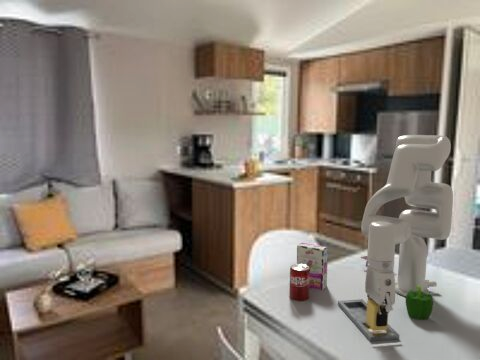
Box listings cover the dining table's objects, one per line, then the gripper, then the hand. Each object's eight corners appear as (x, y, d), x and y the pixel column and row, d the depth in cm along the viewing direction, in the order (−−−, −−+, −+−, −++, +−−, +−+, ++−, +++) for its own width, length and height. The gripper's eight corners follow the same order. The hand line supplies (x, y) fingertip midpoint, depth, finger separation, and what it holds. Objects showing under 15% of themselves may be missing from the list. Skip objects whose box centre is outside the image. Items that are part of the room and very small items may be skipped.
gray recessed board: (362, 304, 138) (362, 299, 138) (399, 341, 115) (399, 335, 115) (337, 306, 137) (338, 300, 137) (370, 343, 114) (370, 337, 113)
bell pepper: (430, 325, 124) (432, 295, 123) (402, 318, 128) (404, 289, 127) (433, 314, 131) (435, 286, 130) (407, 308, 136) (409, 281, 134)
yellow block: (379, 322, 121) (381, 299, 120) (387, 329, 117) (388, 305, 116) (366, 323, 121) (367, 300, 120) (373, 330, 116) (374, 306, 115)
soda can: (309, 303, 139) (310, 271, 137) (288, 301, 140) (289, 269, 139) (309, 295, 146) (310, 264, 144) (290, 293, 148) (290, 262, 146)
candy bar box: (327, 287, 153) (328, 246, 151) (322, 291, 149) (323, 250, 147) (301, 280, 159) (302, 241, 157) (295, 284, 155) (296, 244, 153)
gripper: (408, 273, 108) (404, 335, 111) (378, 253, 125) (375, 308, 127) (382, 274, 107) (379, 337, 110) (355, 254, 124) (353, 309, 126)
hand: (377, 320), depth 119 cm, fingers closed on yellow block, 4 cm apart
